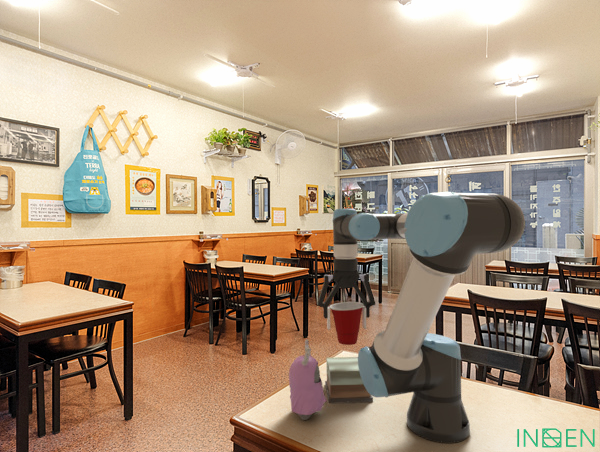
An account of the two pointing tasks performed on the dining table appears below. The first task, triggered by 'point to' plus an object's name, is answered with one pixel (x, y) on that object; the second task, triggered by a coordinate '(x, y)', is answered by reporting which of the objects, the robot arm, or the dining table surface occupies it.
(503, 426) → the dining table surface
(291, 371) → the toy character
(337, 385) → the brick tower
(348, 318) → the plastic cup
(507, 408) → the dining table surface
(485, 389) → the dining table surface
